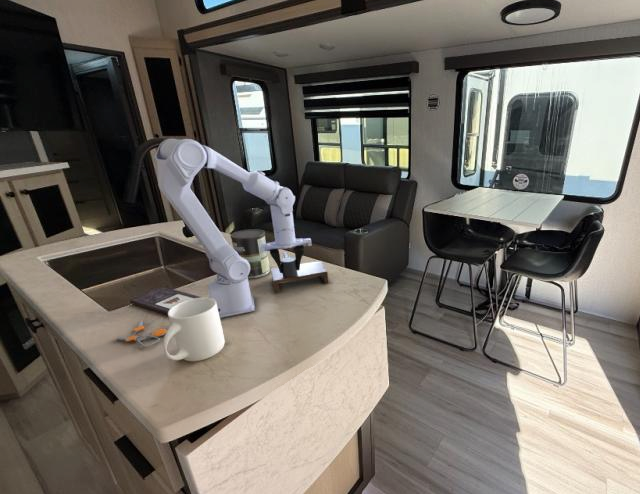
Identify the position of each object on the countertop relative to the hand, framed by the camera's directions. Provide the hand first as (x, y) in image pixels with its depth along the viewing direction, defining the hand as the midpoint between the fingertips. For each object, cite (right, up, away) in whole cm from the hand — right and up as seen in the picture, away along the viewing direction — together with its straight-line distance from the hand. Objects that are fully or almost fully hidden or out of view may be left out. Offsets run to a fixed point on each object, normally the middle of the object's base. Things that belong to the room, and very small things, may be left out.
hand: (289, 270), depth 97 cm
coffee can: (-16, -2, +12) cm, 20 cm away
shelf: (+2, -4, +5) cm, 7 cm away
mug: (-10, -17, -29) cm, 35 cm away
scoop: (-1, -1, +3) cm, 3 cm away
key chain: (-27, -14, -23) cm, 38 cm away
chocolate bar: (-32, -9, -8) cm, 34 cm away
